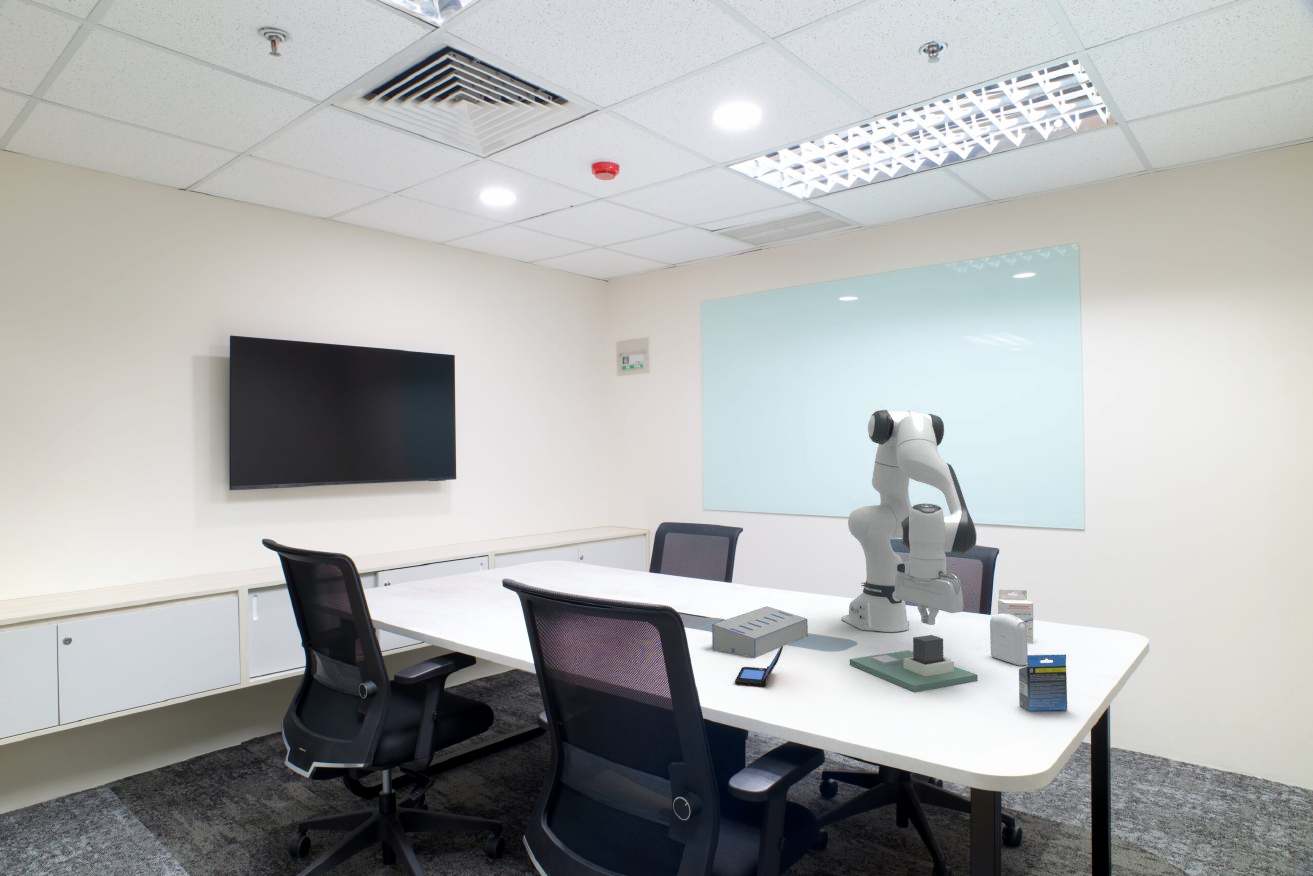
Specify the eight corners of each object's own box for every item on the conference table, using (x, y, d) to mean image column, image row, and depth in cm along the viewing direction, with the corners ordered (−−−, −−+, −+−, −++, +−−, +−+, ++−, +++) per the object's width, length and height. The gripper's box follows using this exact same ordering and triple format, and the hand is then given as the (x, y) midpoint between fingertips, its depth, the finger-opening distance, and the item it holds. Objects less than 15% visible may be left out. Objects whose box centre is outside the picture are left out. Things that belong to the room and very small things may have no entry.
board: (849, 664, 196) (849, 649, 196) (908, 655, 204) (908, 641, 204) (914, 692, 174) (914, 675, 174) (977, 680, 182) (977, 664, 182)
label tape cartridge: (1057, 704, 165) (1057, 649, 165) (1068, 711, 161) (1067, 654, 162) (1018, 705, 165) (1017, 650, 165) (1028, 712, 161) (1027, 655, 161)
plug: (913, 669, 187) (913, 637, 187) (934, 665, 190) (934, 634, 190) (925, 673, 183) (924, 641, 184) (946, 670, 186) (946, 638, 186)
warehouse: (755, 659, 203) (755, 631, 203) (712, 650, 212) (712, 624, 213) (807, 637, 226) (807, 612, 226) (767, 630, 236) (766, 606, 236)
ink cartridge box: (1003, 642, 217) (1003, 592, 217) (997, 638, 222) (997, 589, 222) (1034, 643, 216) (1033, 592, 217) (1027, 638, 221) (1026, 589, 222)
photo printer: (987, 656, 203) (987, 611, 203) (1000, 655, 205) (999, 610, 205) (1018, 667, 193) (1017, 619, 194) (1030, 665, 195) (1029, 618, 195)
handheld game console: (741, 670, 193) (741, 642, 193) (783, 674, 190) (783, 645, 190) (733, 686, 181) (733, 655, 181) (778, 689, 178) (778, 658, 178)
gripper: (969, 574, 178) (969, 631, 178) (908, 562, 197) (909, 614, 197) (949, 576, 176) (950, 634, 176) (890, 564, 195) (890, 616, 195)
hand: (928, 623), depth 187 cm, fingers closed
